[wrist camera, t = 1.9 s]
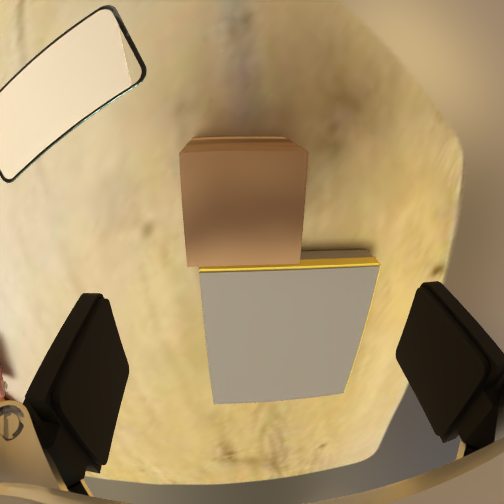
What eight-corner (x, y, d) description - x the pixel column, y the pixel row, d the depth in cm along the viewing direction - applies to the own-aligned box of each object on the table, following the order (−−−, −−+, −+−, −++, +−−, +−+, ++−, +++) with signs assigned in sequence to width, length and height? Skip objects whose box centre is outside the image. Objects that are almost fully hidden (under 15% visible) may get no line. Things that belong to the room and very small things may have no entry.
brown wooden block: (192, 137, 21) (179, 152, 15) (283, 136, 22) (307, 151, 16) (196, 221, 24) (187, 266, 18) (280, 219, 25) (299, 263, 18)
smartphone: (113, 1, 16) (-23, 118, 18) (111, -1, 15) (-27, 119, 17) (154, 78, 19) (9, 186, 21) (152, 77, 19) (6, 188, 21)
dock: (201, 251, 25) (199, 270, 23) (368, 247, 26) (382, 264, 24) (213, 382, 33) (213, 404, 30) (338, 373, 34) (345, 392, 31)
